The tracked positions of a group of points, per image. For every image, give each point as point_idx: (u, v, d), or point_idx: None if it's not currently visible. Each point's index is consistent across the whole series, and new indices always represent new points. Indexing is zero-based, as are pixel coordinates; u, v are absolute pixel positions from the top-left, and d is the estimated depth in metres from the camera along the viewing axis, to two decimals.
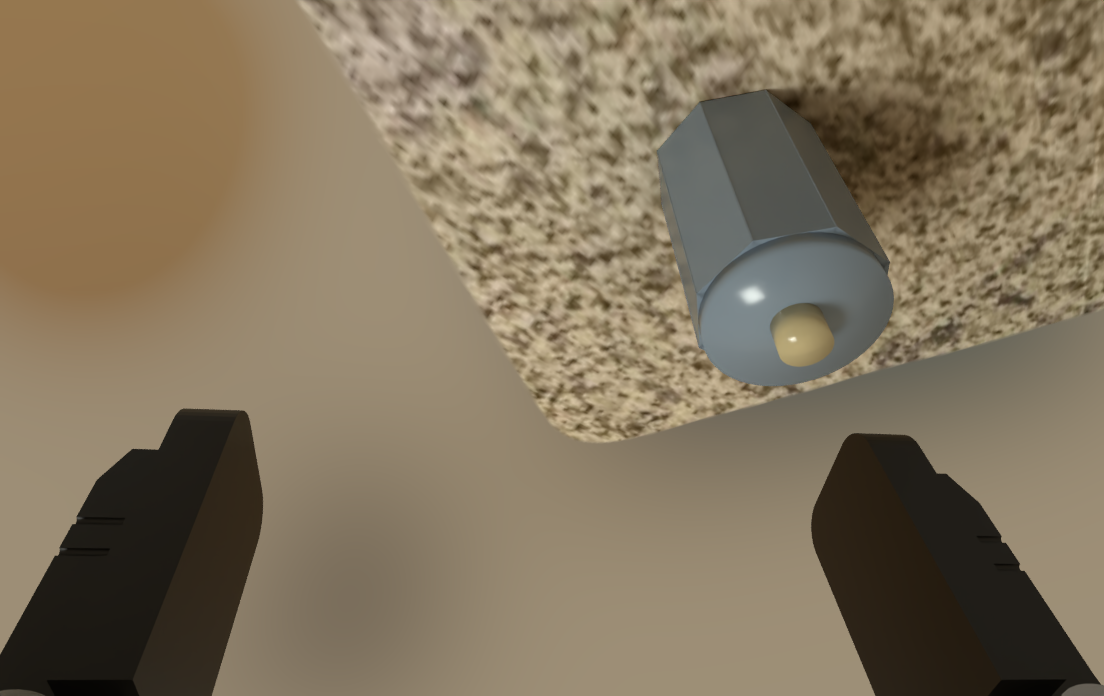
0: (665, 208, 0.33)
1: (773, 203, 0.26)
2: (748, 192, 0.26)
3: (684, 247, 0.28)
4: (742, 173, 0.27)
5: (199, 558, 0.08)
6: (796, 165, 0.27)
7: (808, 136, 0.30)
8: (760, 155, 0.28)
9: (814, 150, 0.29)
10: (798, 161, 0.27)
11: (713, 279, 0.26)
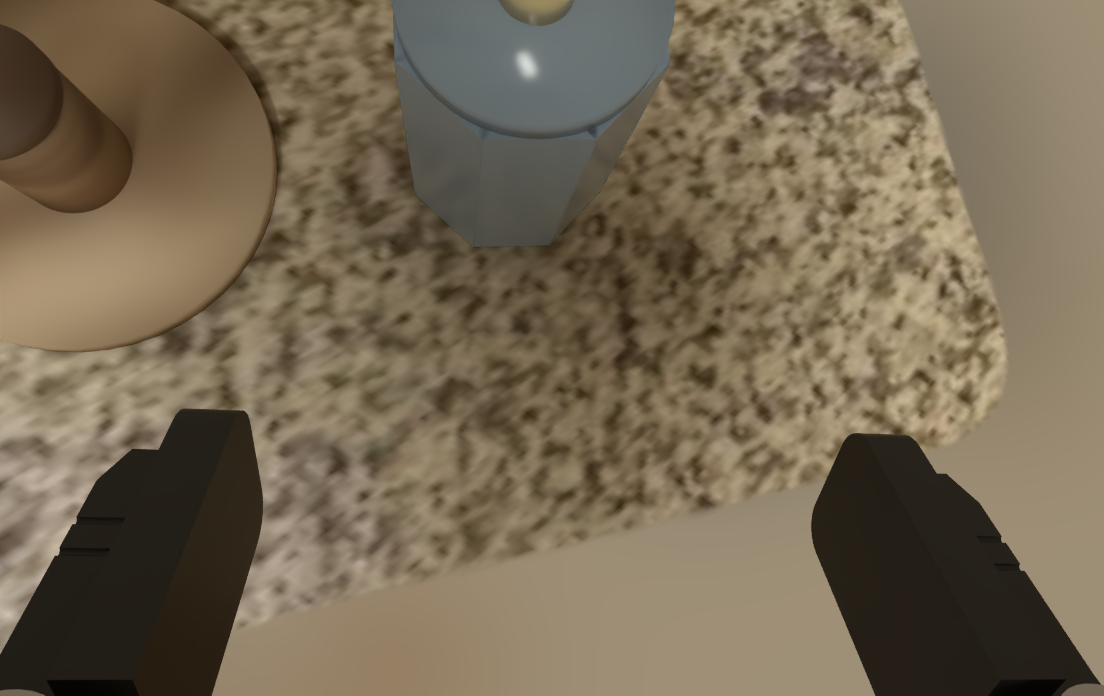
0: (534, 234, 0.25)
1: None
2: None
3: (476, 177, 0.20)
4: None
5: (198, 559, 0.08)
6: None
7: None
8: None
9: None
10: None
11: (455, 114, 0.17)
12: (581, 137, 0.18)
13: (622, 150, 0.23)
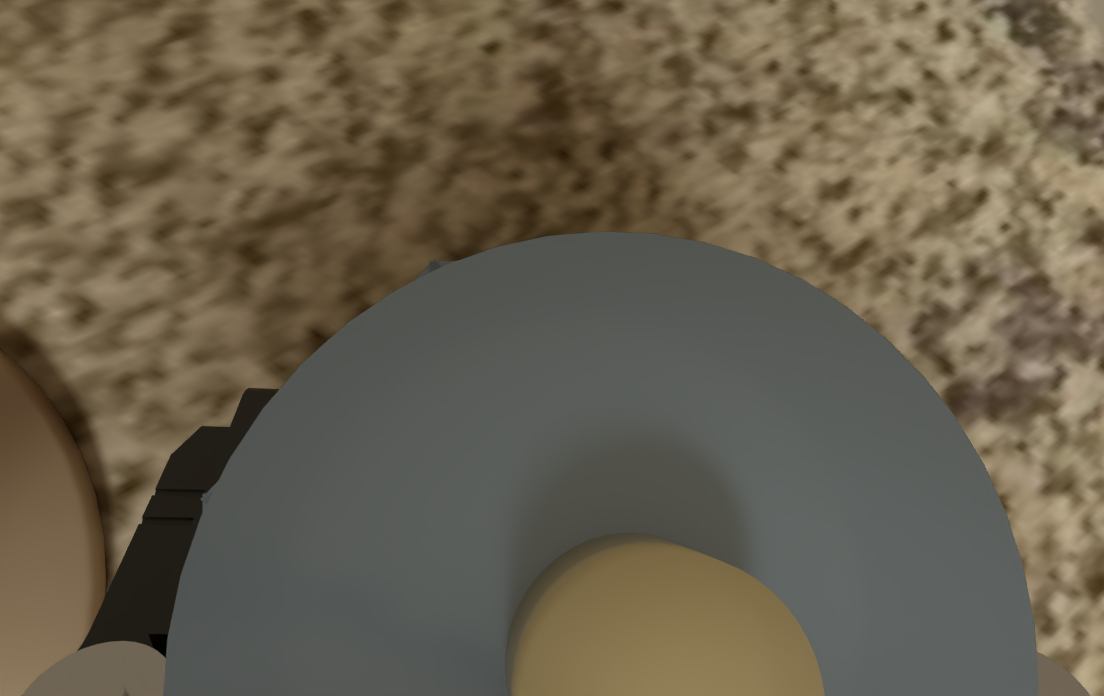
0: None
1: None
2: None
3: None
4: None
5: None
6: None
7: None
8: None
9: None
10: None
11: None
12: None
13: None
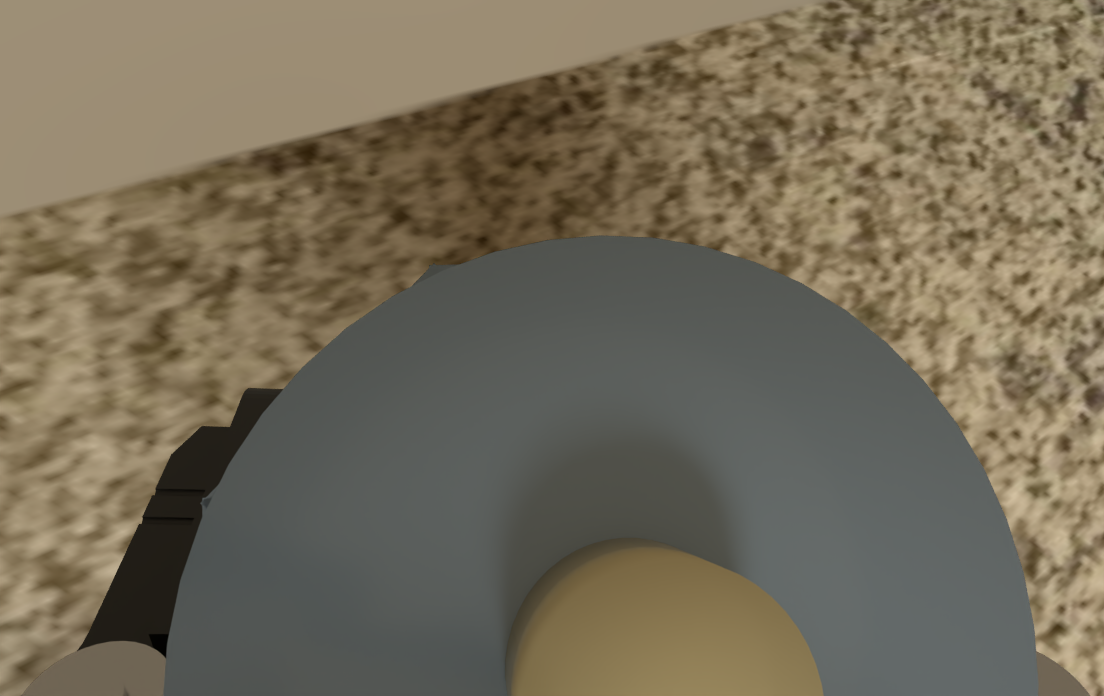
0: None
1: None
2: None
3: None
4: None
5: None
6: None
7: None
8: None
9: None
10: None
11: None
12: None
13: None
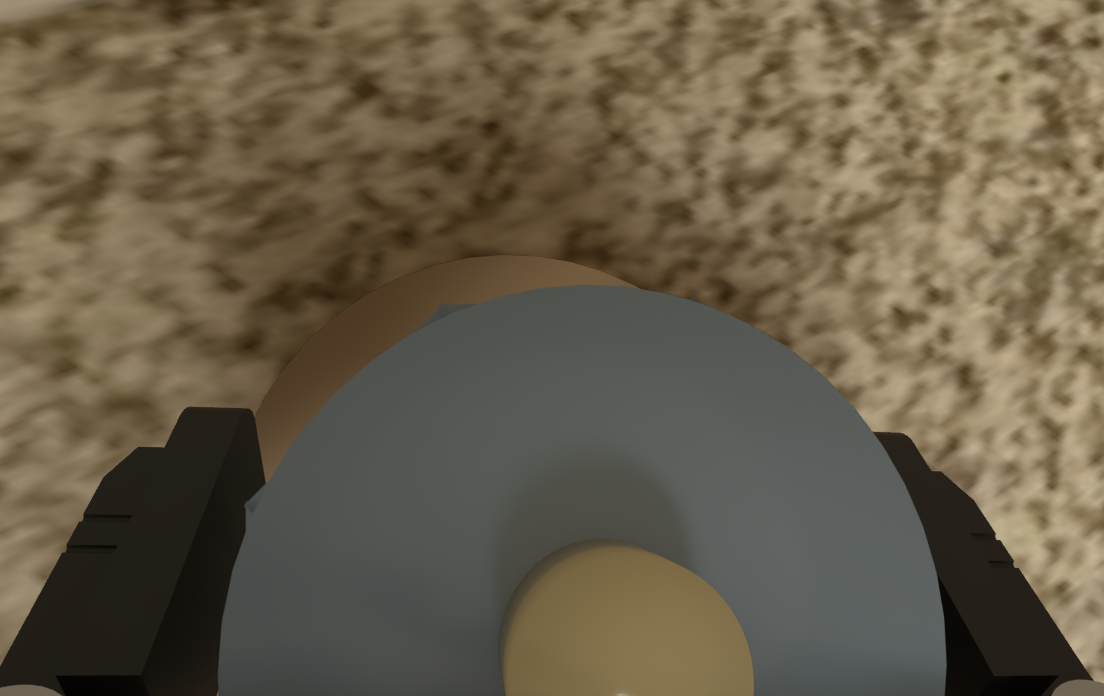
0: None
1: None
2: None
3: None
4: None
5: (205, 556, 0.08)
6: None
7: None
8: None
9: None
10: None
11: None
12: None
13: None
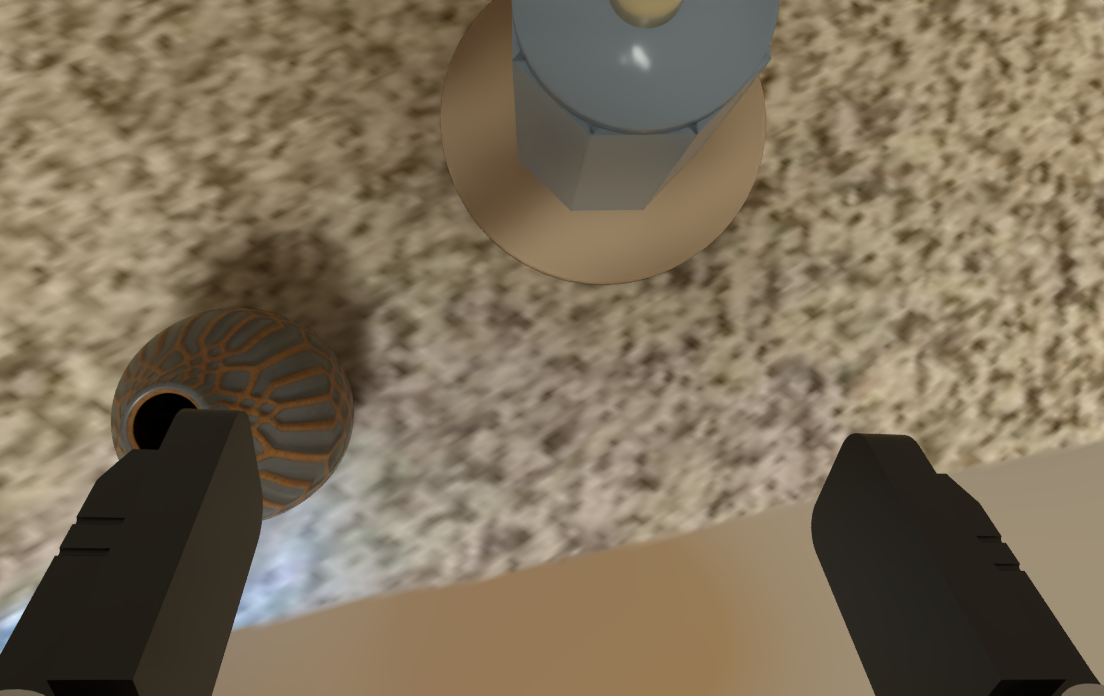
0: (629, 201, 0.27)
1: None
2: None
3: (581, 161, 0.21)
4: None
5: (198, 559, 0.08)
6: None
7: None
8: None
9: None
10: None
11: (567, 111, 0.19)
12: (682, 132, 0.19)
13: (718, 125, 0.24)
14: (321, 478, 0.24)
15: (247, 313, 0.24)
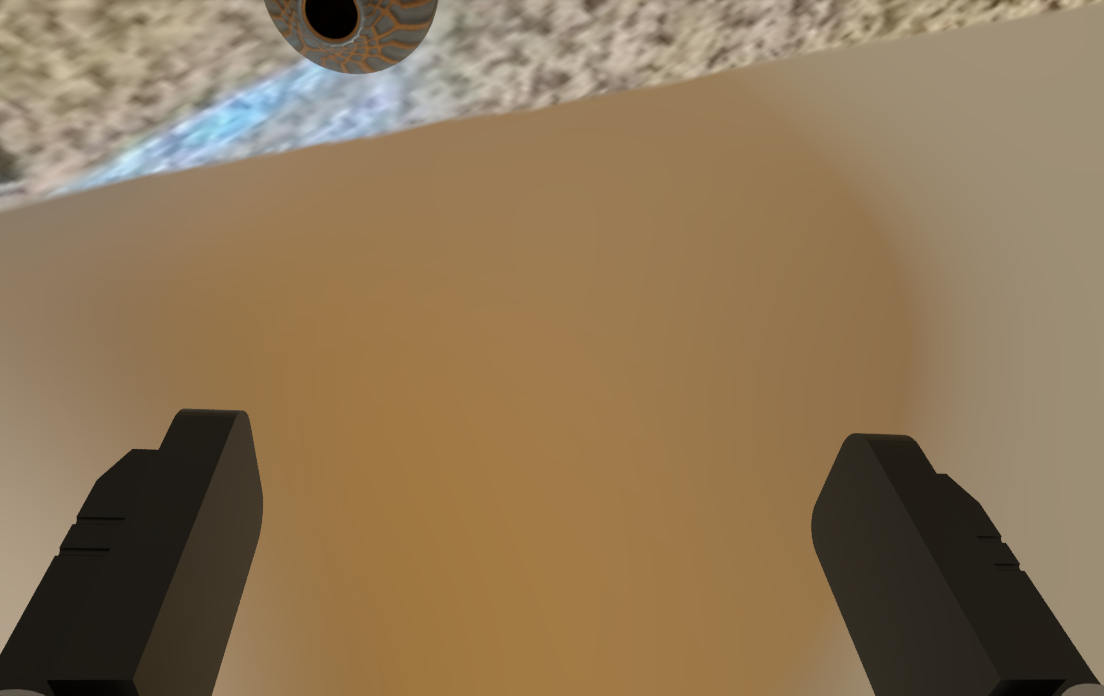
0: None
1: None
2: None
3: None
4: None
5: (199, 558, 0.08)
6: None
7: None
8: None
9: None
10: None
11: None
12: None
13: None
14: (423, 38, 0.32)
15: None
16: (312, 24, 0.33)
